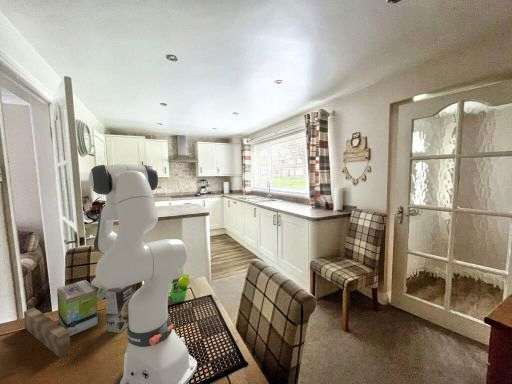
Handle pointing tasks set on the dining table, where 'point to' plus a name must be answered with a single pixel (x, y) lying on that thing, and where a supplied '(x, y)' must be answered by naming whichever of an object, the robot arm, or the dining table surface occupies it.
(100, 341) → the dining table surface
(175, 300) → the fruit basket
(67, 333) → the grey-brown long bar
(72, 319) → the tea box
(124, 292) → the coffee box
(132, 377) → the robot arm
